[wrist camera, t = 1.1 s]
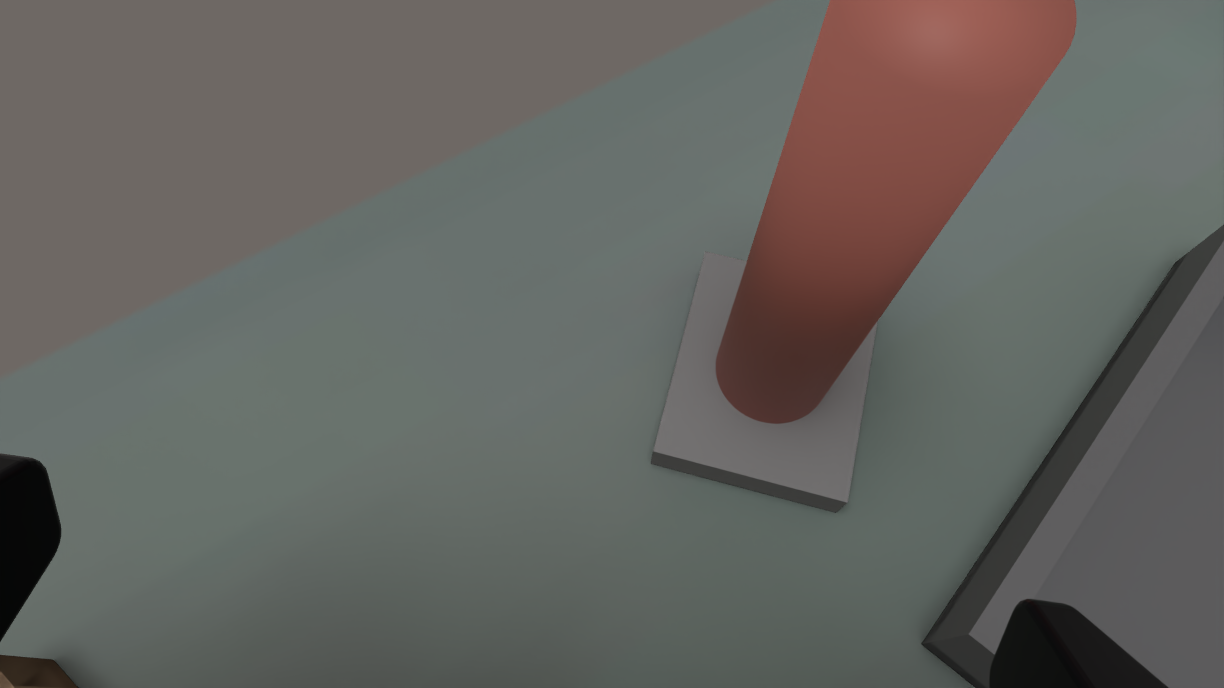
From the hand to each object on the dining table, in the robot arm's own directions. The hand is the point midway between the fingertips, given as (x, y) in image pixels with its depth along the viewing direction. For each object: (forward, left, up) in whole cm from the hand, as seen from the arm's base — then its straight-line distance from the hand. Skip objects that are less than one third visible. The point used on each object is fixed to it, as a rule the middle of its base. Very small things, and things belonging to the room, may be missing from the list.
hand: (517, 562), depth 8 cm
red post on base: (+1, -9, -14) cm, 17 cm away
